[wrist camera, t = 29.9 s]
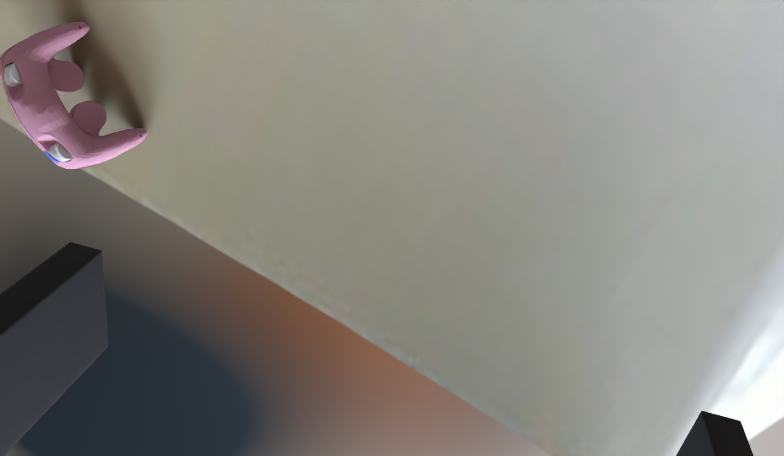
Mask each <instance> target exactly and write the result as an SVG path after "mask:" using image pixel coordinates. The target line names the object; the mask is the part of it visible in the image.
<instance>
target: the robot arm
mask: <svg viewBox="0 0 784 456" xmlns="http://www.w3.org/2000/svg"><path fill="white" fill-rule="evenodd" d="M108 345H109V344H108V329H107V315H106V301H105V287H104V272H103V260H102V251H101V250H97V249H94V248H90V247H86V246H82V245H79V244H75V243H71V242H70V243H69V244H67V245H66V246H65V247H63V248H62V249H61V250H59V251H58V252H57V253H55V254H54V255H53V256H51V257H50V258H49V259H47V260H46V261H45V262H43V263H42V264H41V265H39V266H38V267H37V268H35V269H34V270H32V271H31V272H30V273H28V274H27V275H26V276H24V277H23V278H22V279H20V280H19V281H18V282H16V283H15V284H14V285H13V286H11V287H10V288H9V289H7V290H6V291H4V292H3V293H2V294H0V456H5V455H6V453H7V452H8V451H9V450H10V449H11V448H12V447H13V446H14V445H15V444H16V443H17V442H18V441H19V440H20V439H21V438H22V437H23V436H24V434H25V433H26V432H27V431H28V430H29V429H30V428H31V427H32V426H33V425H34V424H35V423H36V422H37V421H38V420H39V419H40V417H41V416H43V414H44V413H45V412H46V411H47V410H48V409H49V408H50V407H51V406H52V405H53V404H54V403H55V402H56V401H57V400H58V399H59V398H60V397H61V395H62V394H63V393H64V392H65V391H66V390H67V389H68V388H69V387H70V386H71V385H72V384H73V383H74V382H75V381H76V380H77V378H79V376H80V375H81V374H82V373H83V372H84V371H85V370H86V369H87V368H88V367H89V366H90V365H91V364H92V363H93V362H94V360H96V359H97V357H98V356H99V355H100V354H101V353H102V352H103V351H104V350H105V349H106V348H107V347H108ZM676 456H753V453H752V451H751V448H750V445H749V443H748V440H747V437H746V435H745V432H744V429H743V427H742V424H741V421H738V420H734V419H731V418H727V417H723V416H719V415H716V414H712V413H708V412H704V411H701V413H700V415H699V416H698V418H697V420H696V422H695V423H694V425H693V427H692V429H691V430H690V432H689V434H688V436H687V437H686V439H685V441H684V443H683V444H682V446H681V448H680V450H679V451H678V453H677V455H676Z"/></svg>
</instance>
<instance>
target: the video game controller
mask: <svg viewBox="0 0 784 456" xmlns="http://www.w3.org/2000/svg"><path fill="white" fill-rule="evenodd" d="M88 31H89V25H88V24H86V23H84V22H72V23H67V24H63V25H59V26H56V27H53V28H51V29H47V30H44V31H41V32H39V33H37V34H35V35H32V36H31V37H29V38H27V39H25V40H23V41H21V42H19V43H17V44H15V45H14V46H12V47H11V48H9V49H8V50H6V51H5V52H4V53H3V54H2V55H1V57H0V76H1V78H2V80H3V86H4V90H5V94H6V97H7V100H8V102H9V105H10V107H11V109H12V111H13V113H14V115H15V117H16V118H17V120H18V122H19V123H20V125H21V126H22V128H23V129H24V131H25V132H26V133H27V135H28V136H29V137H30V138H31V139H32V140H33V142H34V143H35V144H36V145H37V146H38V147H39V148H40V149H41V150H43V151H44V152H45V153H46V155H47V156H48V157H49V158H50V159H51V160H52V161H53V162H54V163H56V164H57V165H59V166H61V167H63V168H67V169H77V168H85V167H89V166H93V165H96V164H99V163H102V162H105V161H107V160H110V159H112V158H114V157H116V156H118V155H120V154H122V153H123V152H125V151H127V150H129V149H131V148H132V147H134V146H136V145H138V144H139V143H140V142H142V141H143V140H144V139H145V138H146V136H147V131H146V130H145V129H143V128H133V129H127V130H123V131H119V132H115V133H111V134H108V135H105V136H99V135H98V134H99V131H100V130H101V128H102V127H103V125H104V124H105V122H106V113H105V111H104V109H103V108H102V107H101V106H100V105H99V104H98V103H96V102H94V101H85V102H82V103H79V104H77V105H75V106H74V107H73V108H72V110H71V111H70V113H68V111H67V110H66V108H65V107H64V105H63V103H62V102H61V100H60V98H59V96H58V94H57V92H58V93H69V92H74V91H77V90H79V89H80V88H81V87H82V85H83V83H84V76H83V73H82V70H81V69H80V68H79V66H78V65H76V64H75V63H73V62H68V61H60V60H55V59H54V56H55V55H56V54H57V53H58V52H59V51H61V50H62V49H64V48H66V47H67V46H69V45H71V44H73V43H74V42H76V41H77V40H78V39H80V38H81V37H83V36H84V35H85V34H86V33H87V32H88Z"/></svg>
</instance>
